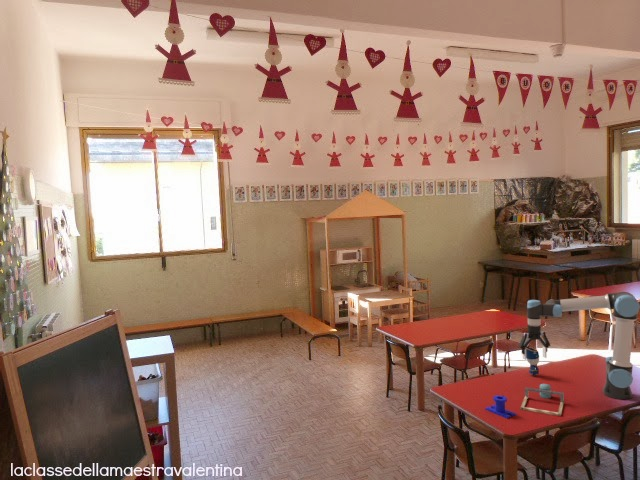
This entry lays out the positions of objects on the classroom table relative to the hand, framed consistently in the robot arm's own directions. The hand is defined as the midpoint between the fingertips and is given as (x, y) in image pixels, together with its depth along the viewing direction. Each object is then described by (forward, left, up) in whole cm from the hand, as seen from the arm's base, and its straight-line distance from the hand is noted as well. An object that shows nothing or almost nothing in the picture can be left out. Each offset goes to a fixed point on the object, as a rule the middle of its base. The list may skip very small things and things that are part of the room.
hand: (534, 358), depth 298 cm
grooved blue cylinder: (-6, +4, -22) cm, 23 cm away
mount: (+14, +39, -22) cm, 47 cm away
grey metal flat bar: (-6, +11, -22) cm, 26 cm away
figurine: (+6, -32, -22) cm, 39 cm away
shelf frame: (-6, +20, -22) cm, 31 cm away
